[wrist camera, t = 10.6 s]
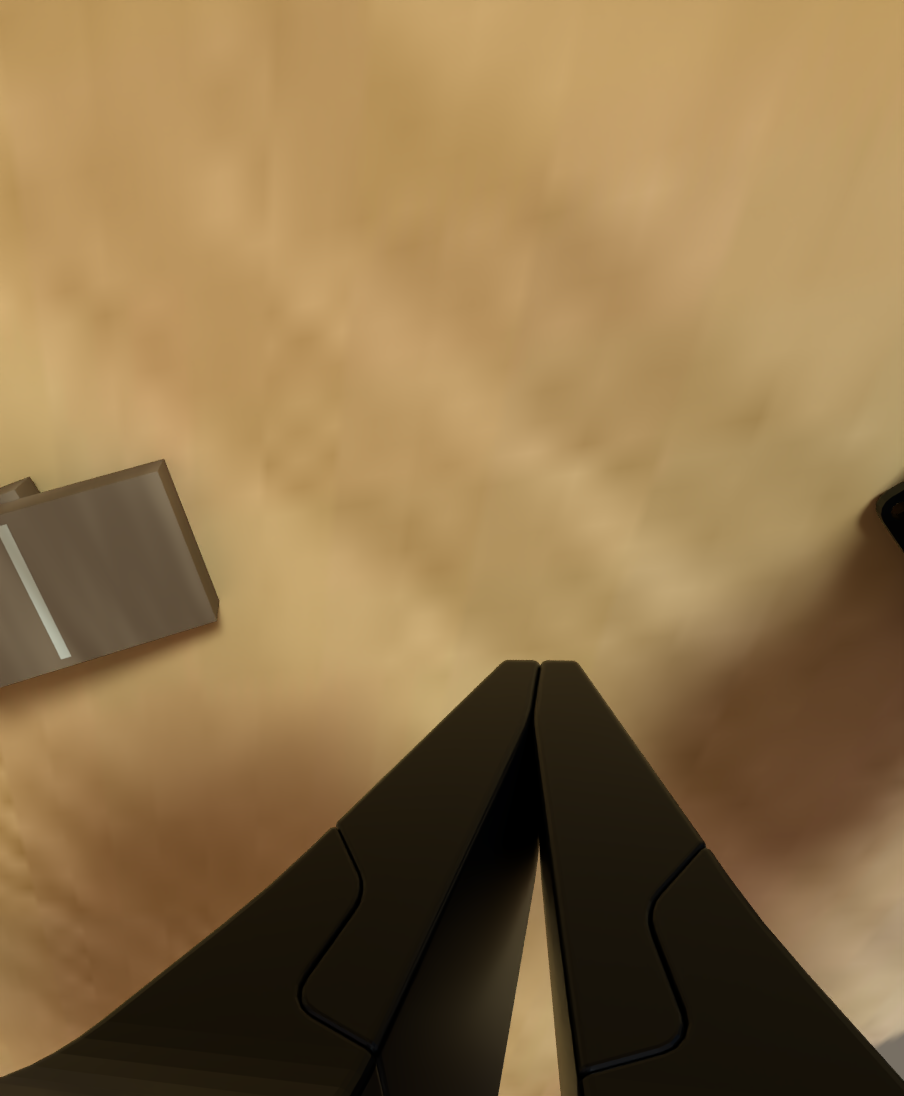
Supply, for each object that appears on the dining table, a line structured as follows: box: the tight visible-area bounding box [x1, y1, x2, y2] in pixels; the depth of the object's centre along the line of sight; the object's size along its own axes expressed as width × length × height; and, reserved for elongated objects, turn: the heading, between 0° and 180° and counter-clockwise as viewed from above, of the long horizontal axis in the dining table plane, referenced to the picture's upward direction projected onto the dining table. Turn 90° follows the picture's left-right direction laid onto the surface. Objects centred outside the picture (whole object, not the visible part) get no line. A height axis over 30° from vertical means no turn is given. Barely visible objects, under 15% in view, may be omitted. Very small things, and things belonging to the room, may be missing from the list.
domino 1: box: [0, 459, 219, 687], centre depth 23 cm, size 2×5×9 cm
